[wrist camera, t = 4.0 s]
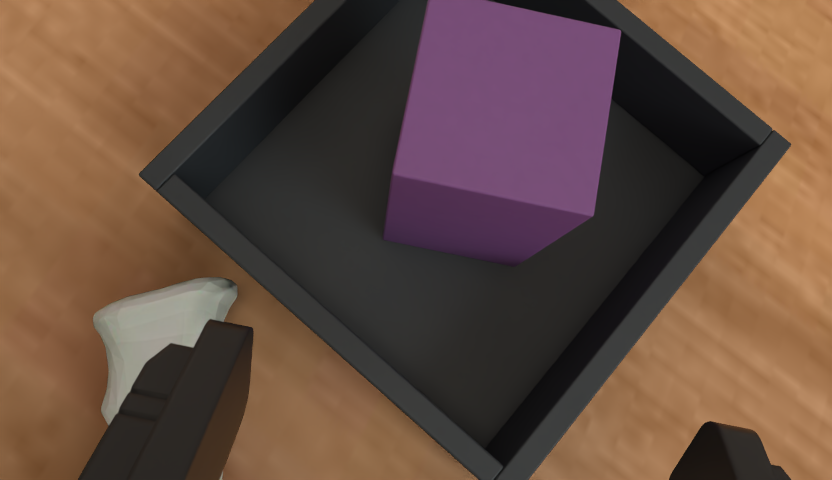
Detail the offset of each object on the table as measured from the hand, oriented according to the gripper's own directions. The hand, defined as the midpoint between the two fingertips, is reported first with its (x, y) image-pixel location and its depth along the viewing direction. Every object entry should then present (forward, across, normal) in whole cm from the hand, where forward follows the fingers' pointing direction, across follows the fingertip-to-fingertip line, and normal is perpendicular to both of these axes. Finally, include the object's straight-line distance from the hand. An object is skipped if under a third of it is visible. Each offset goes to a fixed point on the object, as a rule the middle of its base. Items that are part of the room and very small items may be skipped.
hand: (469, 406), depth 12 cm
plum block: (+12, 0, +2) cm, 12 cm away
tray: (+12, 0, +3) cm, 13 cm away
